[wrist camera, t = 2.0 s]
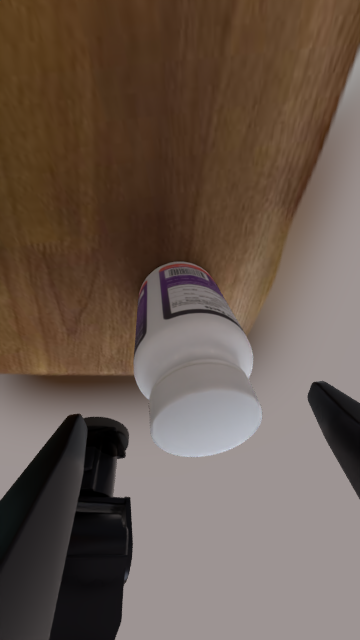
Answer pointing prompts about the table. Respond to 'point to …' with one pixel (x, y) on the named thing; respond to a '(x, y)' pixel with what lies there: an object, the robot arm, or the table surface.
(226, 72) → the table surface
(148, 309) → the pill bottle
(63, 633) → the robot arm
